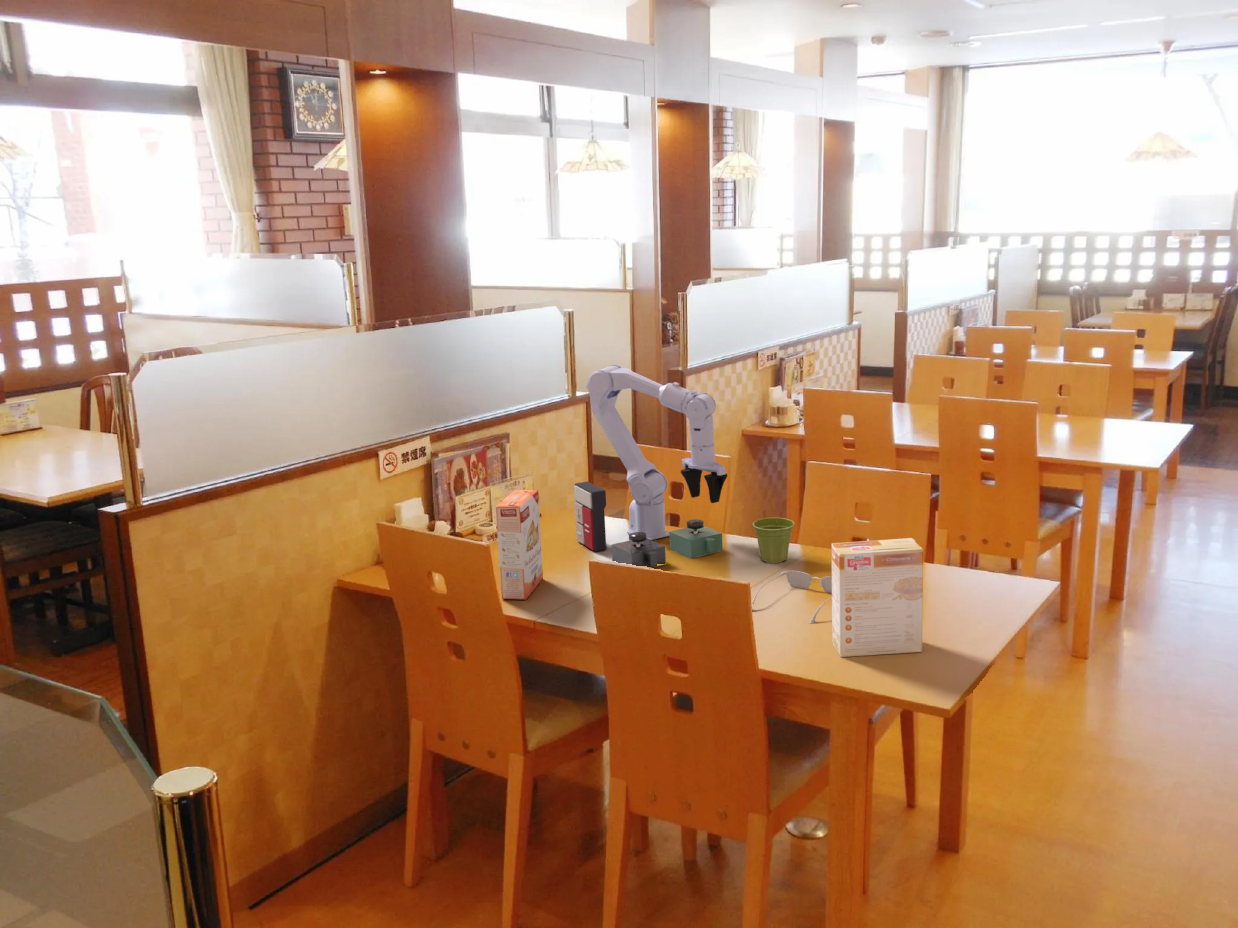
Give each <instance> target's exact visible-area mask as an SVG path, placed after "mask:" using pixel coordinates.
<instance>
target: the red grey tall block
mask: <svg viewBox="0 0 1238 928" xmlns="http://www.w3.org/2000/svg"><path fill="white" fill-rule="evenodd" d="M573 487H574V488H573V490H574V492H573V494H574V501H575V502H574V516H575V521H576V522H575V534H576V536H575V537H576V541H578V542H579V543H581V544H582V545H584V546H585V547H586V548H588V549H590V550H592V551H593V552H594V553H597V552H604V551H606V550H607V539H606V538H607V535H606V520H605V509H606V506H607V494H606V493H607V492H606V490H605V489H603V488H602V487H601V486H597V485H596V484H594V483H591V482H590V481H588V480H587V481H583V482H576V483H574V486H573Z"/></svg>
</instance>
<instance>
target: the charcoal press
mask: <svg viewBox="0 0 1238 928" xmlns="http://www.w3.org/2000/svg"><path fill="white" fill-rule="evenodd" d="M666 555H667V554H666V546H665V545H663V544H661V543H658V542H656V541H654V540H650V539H648V538H647V539H646V540H645V541H643V542H640V547H637V548H636V542H631V541H629V540H625V541H621V542H616V543H612V544H611V556H612V559H611V560H612V561H616V562H618V563H626V564H632V565H636V566H647V567H653V568H655V567H654V566H657V564H665V563H666V562H667V559H666ZM666 564H667V563H666Z"/></svg>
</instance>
